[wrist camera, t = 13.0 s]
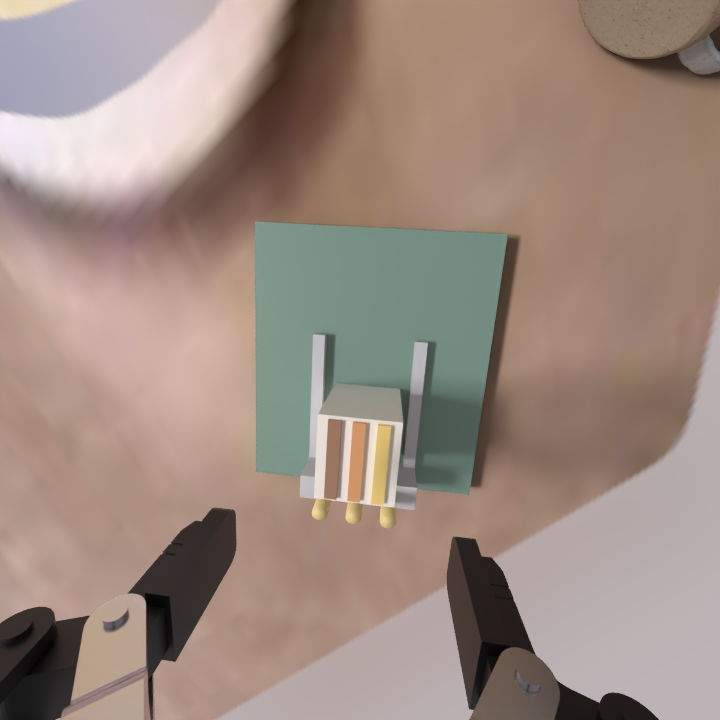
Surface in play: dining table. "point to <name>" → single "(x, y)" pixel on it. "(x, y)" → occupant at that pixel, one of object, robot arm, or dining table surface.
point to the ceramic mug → (656, 29)
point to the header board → (374, 344)
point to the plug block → (359, 445)
